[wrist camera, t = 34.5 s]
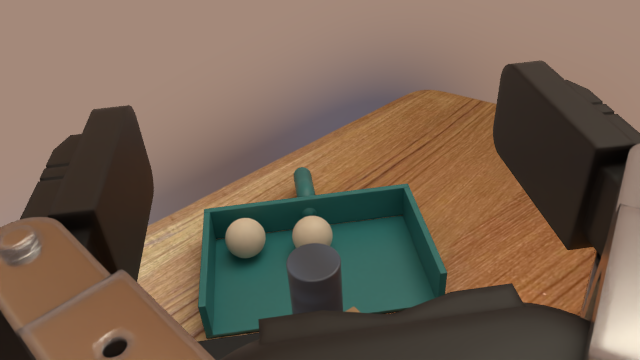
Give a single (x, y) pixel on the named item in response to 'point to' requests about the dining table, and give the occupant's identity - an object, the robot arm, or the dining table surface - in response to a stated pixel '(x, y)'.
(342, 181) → the dining table surface
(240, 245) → the beige ball
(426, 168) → the dining table surface
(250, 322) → the dustpan
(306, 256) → the brush
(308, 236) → the beige sphere
